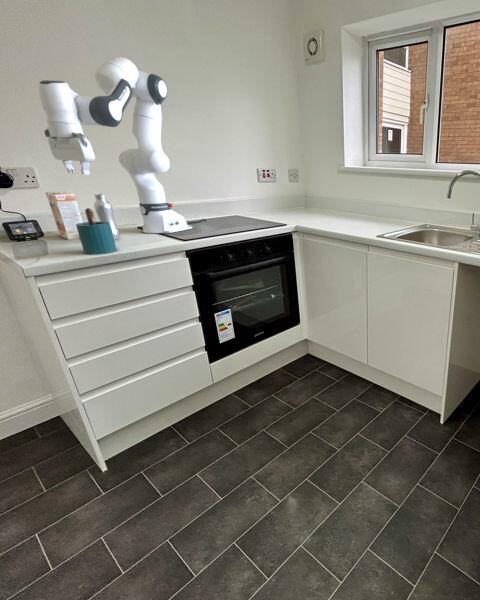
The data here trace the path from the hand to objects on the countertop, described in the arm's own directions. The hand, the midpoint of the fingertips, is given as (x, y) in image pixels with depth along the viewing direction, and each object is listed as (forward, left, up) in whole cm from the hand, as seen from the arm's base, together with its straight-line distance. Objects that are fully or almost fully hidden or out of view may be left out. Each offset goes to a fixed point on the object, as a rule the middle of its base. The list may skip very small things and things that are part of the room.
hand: (78, 174), depth 129 cm
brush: (0, 0, -28) cm, 29 cm away
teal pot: (0, 0, -29) cm, 29 cm away
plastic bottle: (-14, -19, -29) cm, 38 cm away
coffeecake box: (-9, -40, -29) cm, 50 cm away
